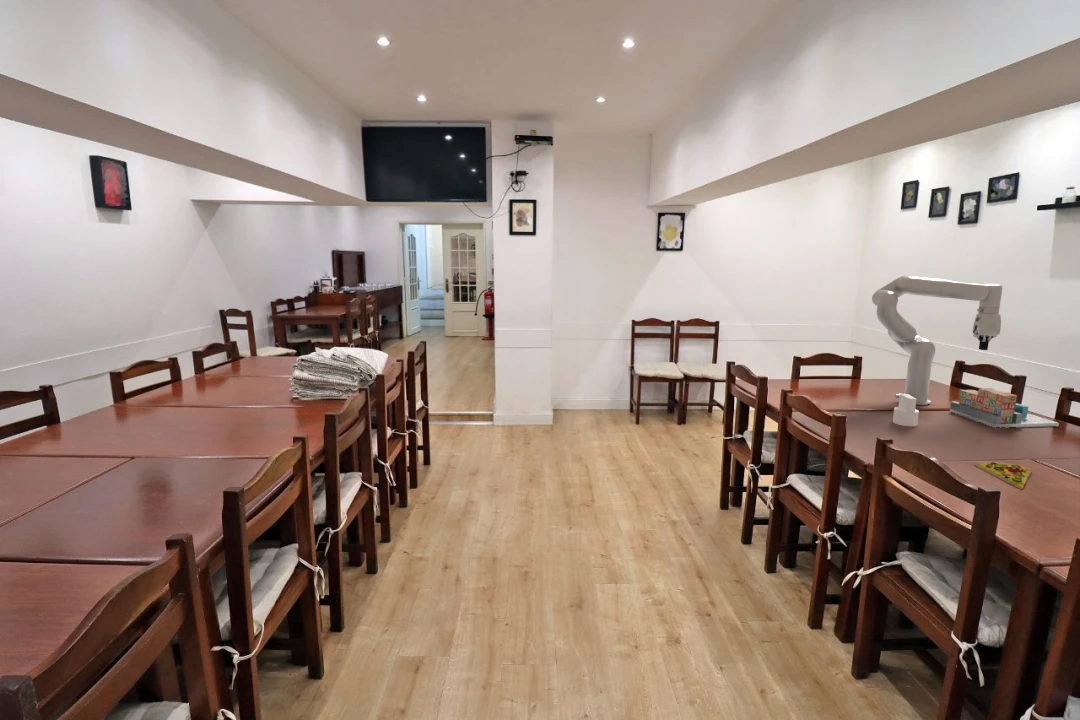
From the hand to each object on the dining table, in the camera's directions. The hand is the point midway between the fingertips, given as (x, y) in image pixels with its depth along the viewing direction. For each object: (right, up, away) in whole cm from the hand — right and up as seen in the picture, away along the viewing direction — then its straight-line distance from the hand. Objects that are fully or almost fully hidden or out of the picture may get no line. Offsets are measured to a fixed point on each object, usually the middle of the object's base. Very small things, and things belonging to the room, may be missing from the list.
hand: (983, 349), depth 260 cm
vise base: (-5, -31, -17) cm, 36 cm away
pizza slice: (-55, -44, -79) cm, 106 cm away
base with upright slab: (-51, -32, -22) cm, 64 cm away
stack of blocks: (-14, -30, -18) cm, 37 cm away
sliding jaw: (-5, -29, -17) cm, 34 cm away
